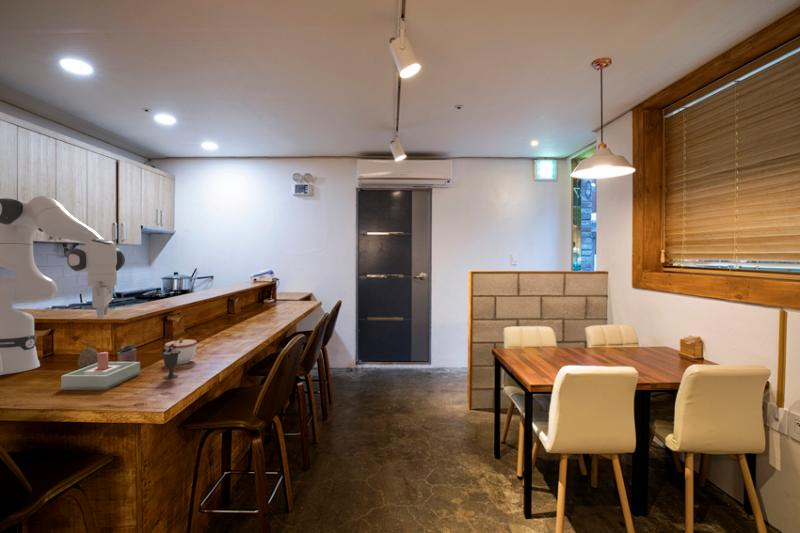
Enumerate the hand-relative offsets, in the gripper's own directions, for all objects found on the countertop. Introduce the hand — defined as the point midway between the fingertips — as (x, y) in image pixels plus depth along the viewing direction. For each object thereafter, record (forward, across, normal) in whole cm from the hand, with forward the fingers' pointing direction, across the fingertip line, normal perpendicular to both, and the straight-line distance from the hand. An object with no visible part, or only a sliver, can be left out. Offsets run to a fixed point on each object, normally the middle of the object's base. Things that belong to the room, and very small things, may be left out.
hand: (102, 316), depth 141 cm
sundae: (+25, -9, -23) cm, 35 cm away
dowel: (+24, -2, 0) cm, 24 cm away
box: (+25, -2, 0) cm, 25 cm away
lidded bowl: (+25, +13, -26) cm, 39 cm away
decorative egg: (+26, +18, +7) cm, 32 cm away
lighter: (+26, +14, -6) cm, 30 cm away
